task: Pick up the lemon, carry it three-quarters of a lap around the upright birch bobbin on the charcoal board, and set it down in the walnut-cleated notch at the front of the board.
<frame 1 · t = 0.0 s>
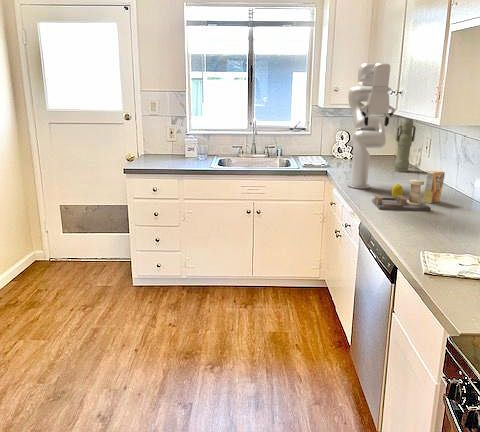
hand: (375, 125, 227), 37 cm above the worktop, tool pointing down, fingers open, 9 cm apart
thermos: (400, 171, 308), on the worktop
lemon: (396, 199, 236), on the worktop
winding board: (400, 206, 222), on the worktop
candy box: (431, 202, 232), on the worktop
bobbin: (413, 203, 222), resting on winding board
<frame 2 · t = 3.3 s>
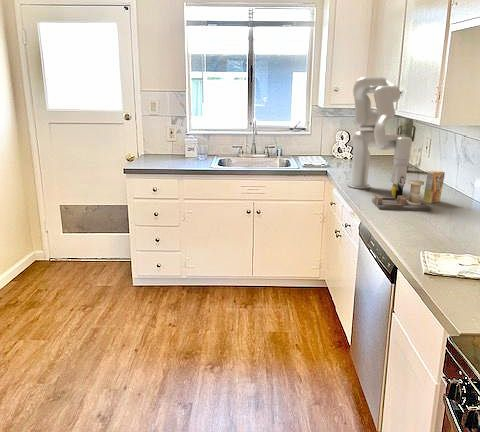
hand: (396, 196, 235), 2 cm above the worktop, tool pointing down, fingers closed on lemon, 5 cm apart
lemon: (396, 199, 236), on the worktop, touching gripper
everything else where it was.
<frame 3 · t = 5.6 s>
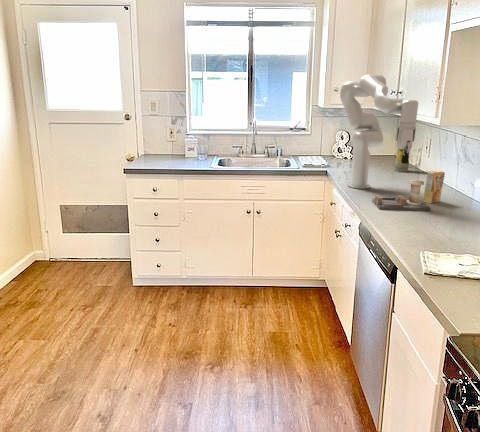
hand: (402, 161, 229), 19 cm above the worktop, tool pointing down, fingers closed on lemon, 5 cm apart
lemon: (402, 165, 230), point 18 cm above the worktop, touching gripper
everything else where it was.
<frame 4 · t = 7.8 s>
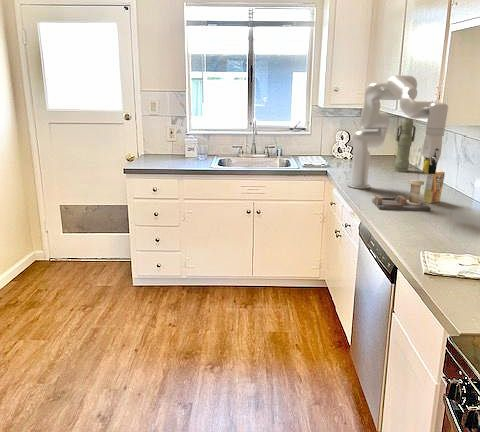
hand: (428, 171, 206), 19 cm above the worktop, tool pointing down, fingers closed on lemon, 5 cm apart
lemon: (428, 175, 206), point 18 cm above the worktop, touching gripper
everything else where it was.
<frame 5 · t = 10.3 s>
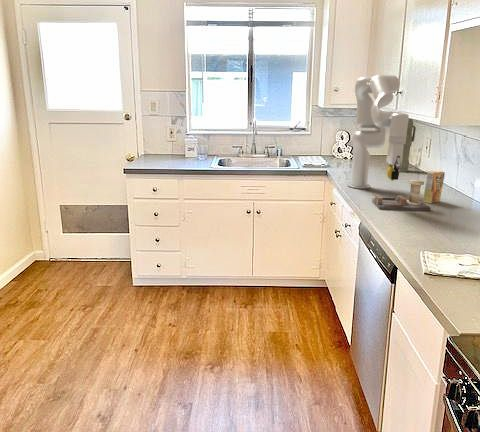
hand: (392, 177, 218), 14 cm above the worktop, tool pointing down, fingers closed on lemon, 5 cm apart
lemon: (392, 181, 219), point 12 cm above the worktop, touching gripper
everything else where it was.
when the fingers open (4 cm above the worktop, at t = 12.4 s): lemon drops 1 cm, resting on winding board.
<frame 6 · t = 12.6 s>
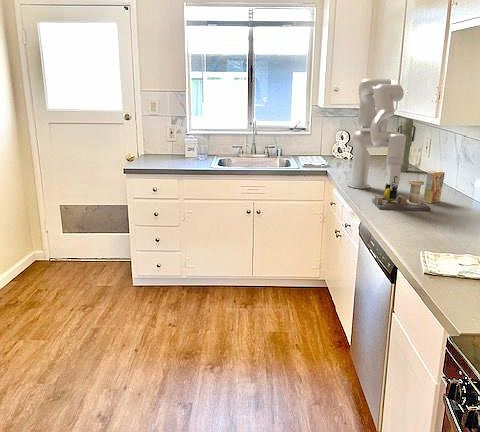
hand: (390, 196, 221), 5 cm above the worktop, tool pointing down, fingers open, 7 cm apart
lemon: (389, 203, 222), point 1 cm above the worktop, touching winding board
everything else where it was.
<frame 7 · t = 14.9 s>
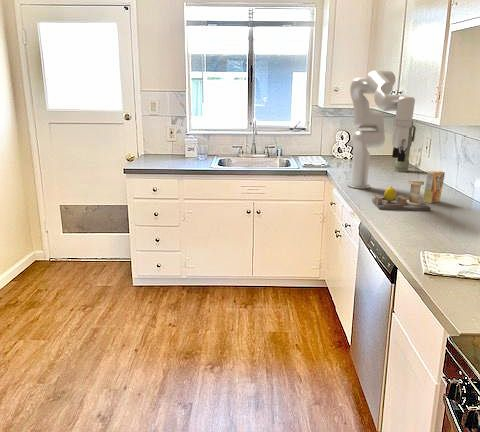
hand: (398, 159, 220), 22 cm above the worktop, tool pointing down, fingers open, 9 cm apart
nothing on the worktop moved.
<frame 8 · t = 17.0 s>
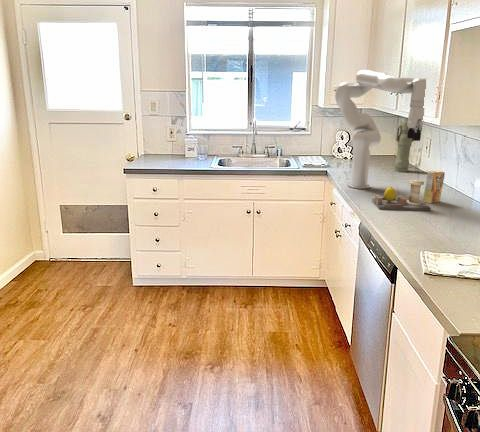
hand: (413, 139, 230), 30 cm above the worktop, tool pointing down, fingers open, 9 cm apart
nothing on the worktop moved.
at the end: lemon inside the target area on the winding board (0.4 cm from its centre), point 1.3 cm above the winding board's base; lemon touching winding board; the gripper is holding nothing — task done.
